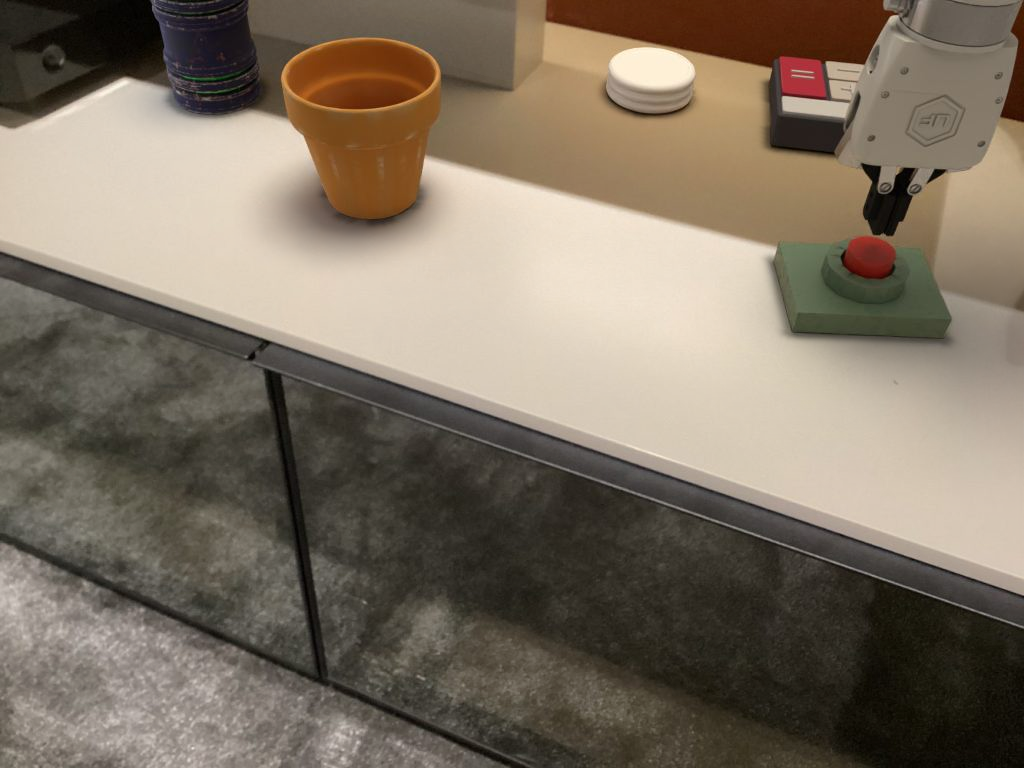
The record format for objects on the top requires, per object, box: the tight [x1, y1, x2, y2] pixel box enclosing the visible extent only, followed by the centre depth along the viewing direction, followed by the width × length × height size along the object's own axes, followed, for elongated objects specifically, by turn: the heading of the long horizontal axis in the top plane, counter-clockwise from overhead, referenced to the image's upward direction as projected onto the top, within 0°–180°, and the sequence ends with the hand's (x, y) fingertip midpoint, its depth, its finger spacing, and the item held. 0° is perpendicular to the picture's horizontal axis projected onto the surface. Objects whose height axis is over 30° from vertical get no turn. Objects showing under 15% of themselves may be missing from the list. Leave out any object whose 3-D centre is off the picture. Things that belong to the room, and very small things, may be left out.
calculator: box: [768, 55, 865, 153], centre depth 107 cm, size 11×4×15 cm
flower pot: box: [280, 37, 442, 220], centre depth 91 cm, size 14×14×13 cm
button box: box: [773, 238, 953, 339], centre depth 85 cm, size 13×10×4 cm
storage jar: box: [150, 0, 263, 115], centre depth 104 cm, size 10×10×15 cm
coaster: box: [605, 46, 697, 115], centre depth 110 cm, size 10×10×4 cm
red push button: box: [843, 235, 896, 279], centre depth 83 cm, size 4×4×2 cm
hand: (878, 225), depth 81 cm, fingers closed
